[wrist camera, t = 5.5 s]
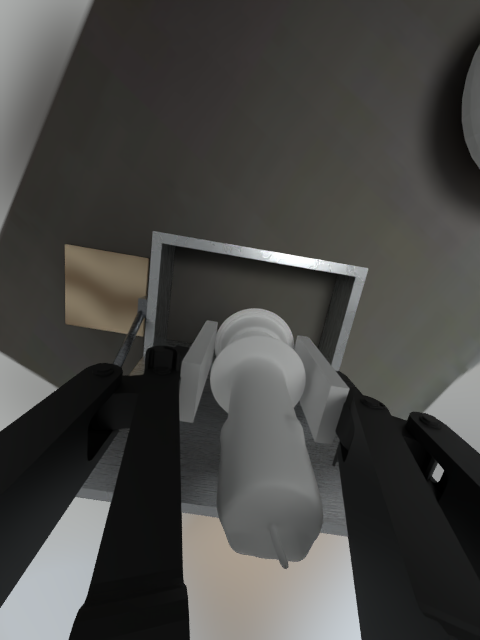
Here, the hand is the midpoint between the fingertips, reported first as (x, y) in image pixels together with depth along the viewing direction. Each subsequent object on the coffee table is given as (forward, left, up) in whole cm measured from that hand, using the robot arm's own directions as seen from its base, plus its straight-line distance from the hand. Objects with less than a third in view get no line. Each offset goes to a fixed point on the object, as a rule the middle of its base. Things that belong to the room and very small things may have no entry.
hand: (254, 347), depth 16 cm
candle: (0, 0, -1) cm, 1 cm away
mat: (+1, -18, -15) cm, 24 cm away
